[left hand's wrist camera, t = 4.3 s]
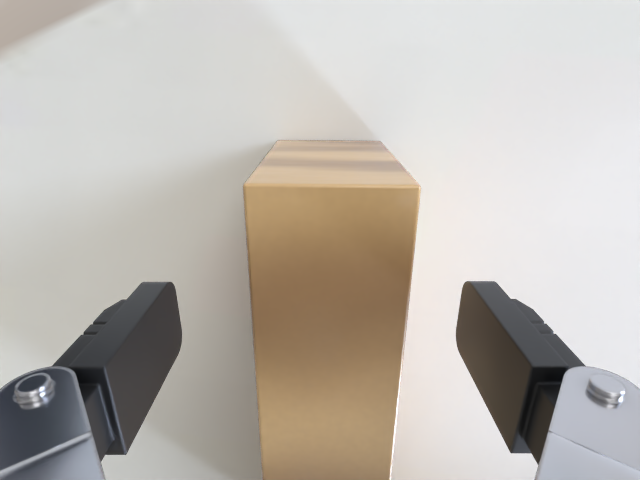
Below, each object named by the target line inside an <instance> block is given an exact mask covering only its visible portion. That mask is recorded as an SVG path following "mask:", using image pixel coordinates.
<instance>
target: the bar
mask: <svg viewBox="0 0 640 480" xmlns="http://www.w3.org/2000/svg"><path fill="white" fill-rule="evenodd" d="M420 193H421V187H420V185H419V184H418V183H417V182H416V180H415V179H414V178H413V177H412V176H411V175H410V174H409V173H408V172H407V170H406V169H405V168H404V167H403V166H402V165H401V164H400V163H399V161H398V160H397V159H396V158H395V157H394V156H393V155H392V154H391V153H390V151H389V150H388V149H387V148H386V147H385V146H384V145H383V144H382V142H380V141H321V140H278V141H277V142H276V143H275V144H274V146H273V147H272V148H271V150H270V151H269V152H268V153H267V155H266V156H265V157H264V159H263V160H262V161H261V162H260V164H259V165H258V166H257V168H256V169H255V170H254V171H253V173H252V174H251V175H250V177H249V178H248V179H247V181H246V182H245V183H244V185H243V195H244V210H245V225H246V240H247V255H248V270H249V285H250V300H251V315H252V330H253V345H254V360H255V375H256V390H257V405H258V420H259V435H260V450H261V464H262V479H263V480H391V471H392V461H393V452H394V442H395V433H396V423H397V413H398V404H399V394H400V385H401V375H402V365H403V356H404V346H405V337H406V327H407V317H408V308H409V298H410V289H411V279H412V269H413V260H414V250H415V241H416V231H417V222H418V212H419V202H420Z"/></svg>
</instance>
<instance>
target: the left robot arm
mask: <svg viewBox="0 0 640 480" xmlns="http://www.w3.org/2000/svg"><path fill="white" fill-rule="evenodd" d="M181 342H182V329H181V322H180V316H179V309H178V303H177V296H176V290H175V286H174V284H173V283H172V282H143V283H141V284H140V285H139V286H138V287H137V289H136V290H135V291H134V292H133V293H132V294H131V295H130V297H129V298H128V299H127V300H121V301H119V302H117V303H116V304H114V305H112V306H111V307H109V308H107V309H106V310H104V311H103V312H102V313H101V314H100V316H99V317H98V318H97V319H96V320H95V321H94V322H93V325H90V326H89V327H88V328H87V329H86V330H85V331H84V335H81V336H80V337H79V338H78V339H77V340H76V341H75V342H74V343H73V344H72V345H71V346H70V347H69V349H68V350H67V351H66V352H65V353H64V354H63V355H62V356H61V357H60V358H59V359H58V360H57V361H56V362H55V363H54V364H53V366H52V367H45V368H41V369H37V370H34V371H31V372H28V373H26V374H23V375H21V376H19V377H17V378H15V379H14V380H12V381H10V382H9V383H7V384H6V385H5V386H3V387H2V388H1V389H0V480H106V479H105V476H104V472H103V469H102V465H101V461H102V459H103V457H104V456H105V455H126V454H127V452H128V450H129V448H130V446H131V444H132V442H133V440H134V438H135V436H136V434H137V433H138V431H139V429H140V427H141V425H142V423H143V421H144V419H145V417H146V415H147V413H148V411H149V409H150V407H151V406H152V404H153V402H154V400H155V398H156V396H157V394H158V392H159V390H160V388H161V386H162V384H163V382H164V381H165V379H166V377H167V375H168V373H169V371H170V369H171V367H172V365H173V363H174V361H175V359H176V357H177V355H178V353H179V351H180V347H181ZM456 342H457V347H458V350H459V353H460V355H461V357H462V359H463V361H464V363H465V365H466V367H467V369H468V371H469V372H470V374H471V376H472V378H473V380H474V382H475V384H476V386H477V388H478V390H479V392H480V394H481V396H482V398H483V400H484V402H485V404H486V406H487V408H488V410H489V412H490V413H491V415H492V417H493V419H494V421H495V423H496V425H497V427H498V429H499V431H500V433H501V435H502V437H503V439H504V441H505V443H506V445H507V447H508V449H509V451H510V453H532V455H533V456H534V458H535V460H536V462H537V464H538V469H537V472H536V476H535V479H534V480H640V389H639V388H638V387H637V386H635V385H634V384H633V383H631V382H630V381H628V380H626V379H625V378H623V377H621V376H619V375H617V374H614V373H612V372H609V371H606V370H603V369H599V368H595V367H586V366H585V365H584V364H583V363H582V362H581V361H580V360H579V358H578V357H577V356H576V355H575V354H574V353H573V352H572V351H571V350H570V349H569V348H568V347H567V346H566V345H565V343H564V342H563V341H562V340H561V339H560V338H559V337H558V336H557V335H556V334H553V331H552V329H551V328H550V327H549V326H548V325H547V324H544V321H543V320H542V319H541V318H540V317H539V315H538V314H537V313H536V312H535V311H534V310H533V309H531V308H530V307H528V306H526V305H525V304H523V303H521V302H520V301H518V300H516V299H510V298H509V296H508V295H507V294H506V293H505V292H504V291H503V290H502V288H501V287H500V286H499V285H498V284H497V283H496V282H494V281H467V282H465V283H464V285H463V288H462V294H461V301H460V308H459V314H458V321H457V327H456Z"/></svg>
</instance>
